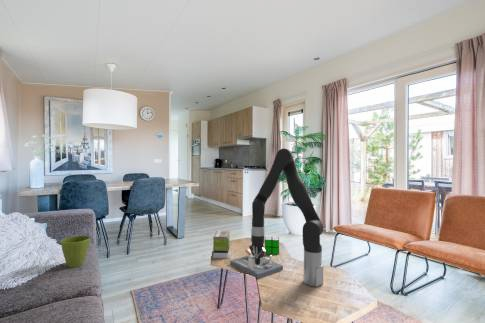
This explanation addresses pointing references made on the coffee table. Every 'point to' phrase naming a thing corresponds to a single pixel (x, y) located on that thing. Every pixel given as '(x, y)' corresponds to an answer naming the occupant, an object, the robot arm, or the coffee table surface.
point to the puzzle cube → (272, 244)
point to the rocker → (249, 251)
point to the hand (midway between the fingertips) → (257, 264)
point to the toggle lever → (269, 259)
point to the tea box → (221, 244)
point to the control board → (260, 270)
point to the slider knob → (251, 261)
